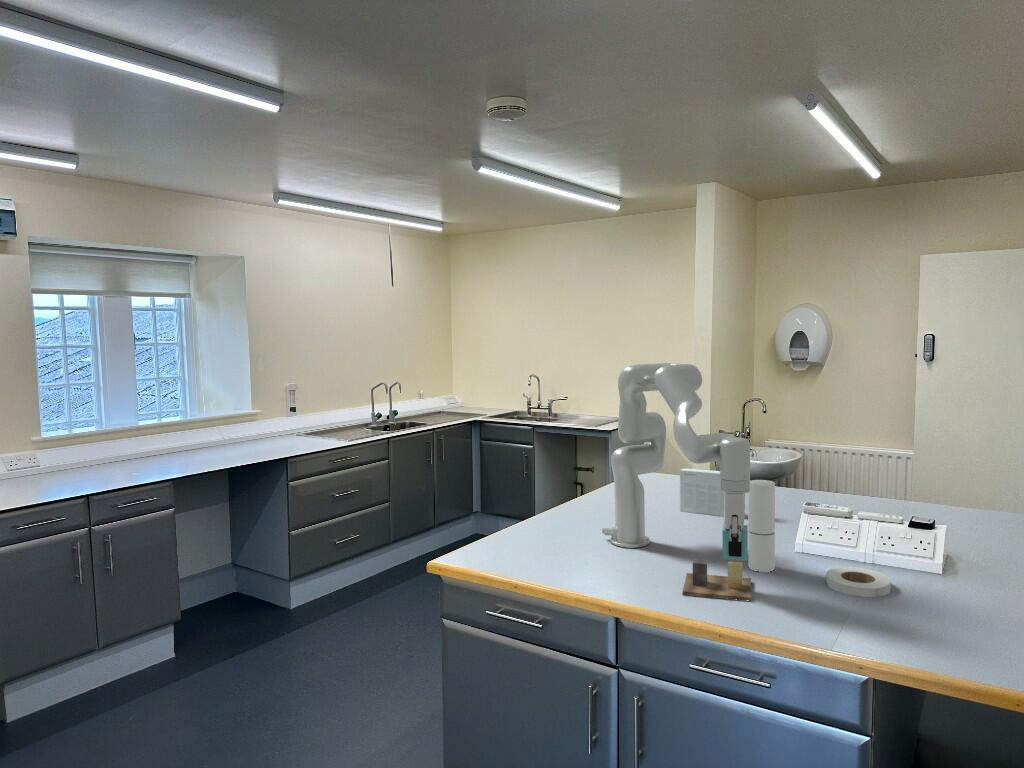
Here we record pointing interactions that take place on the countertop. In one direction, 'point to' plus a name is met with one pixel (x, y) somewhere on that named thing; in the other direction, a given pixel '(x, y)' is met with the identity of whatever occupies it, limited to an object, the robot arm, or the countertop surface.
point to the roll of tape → (844, 576)
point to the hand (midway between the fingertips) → (735, 551)
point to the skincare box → (701, 492)
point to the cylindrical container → (761, 526)
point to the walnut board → (713, 584)
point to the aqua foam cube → (743, 544)
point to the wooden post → (735, 575)
